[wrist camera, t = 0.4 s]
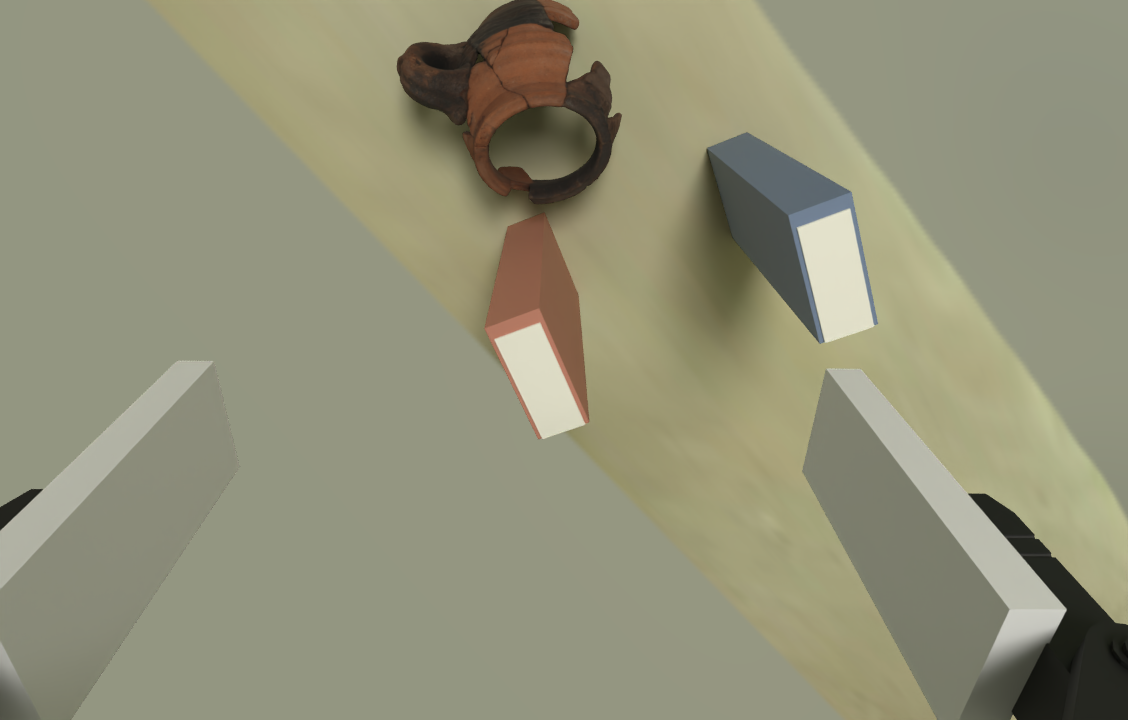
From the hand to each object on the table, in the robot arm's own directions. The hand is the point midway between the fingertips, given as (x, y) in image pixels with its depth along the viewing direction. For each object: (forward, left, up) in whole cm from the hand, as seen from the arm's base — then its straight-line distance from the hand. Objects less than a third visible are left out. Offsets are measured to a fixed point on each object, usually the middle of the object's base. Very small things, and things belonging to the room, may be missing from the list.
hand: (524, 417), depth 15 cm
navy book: (+6, +11, -30) cm, 32 cm away
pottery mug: (-6, 0, -31) cm, 31 cm away
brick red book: (+6, -2, -30) cm, 30 cm away
